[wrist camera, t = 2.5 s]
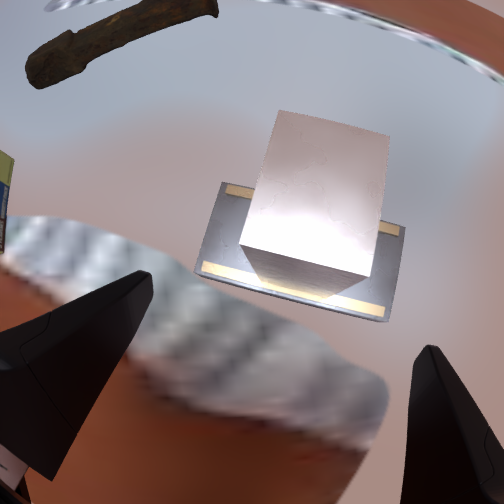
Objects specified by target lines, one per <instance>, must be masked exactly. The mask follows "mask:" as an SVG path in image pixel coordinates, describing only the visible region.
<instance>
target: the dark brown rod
mask: <svg viewBox="0 0 504 504" xmlns="http://www.w3.org/2000/svg"><path fill="white" fill-rule="evenodd" d="M218 14H219V9H218V3H217V0H142V1H141V2H140V3H138V4H136V5H133V6H131V7H129V8H126V9H124V10H121V11H119V12H117V13H115V14H113V15H111V16H109V17H107V18H105V19H103V20H100V21H98V22H96V23H94V24H92V25H90V26H87V27H86V28H84V29H81V30H79V31H78V32H77V33H73V32H72V31H71V30H67V31H65V32H63V33H62V34H60V35H59V36H58V37H56V38H54V39H52V40H50V41H48V42H47V43H45V44H43V45H42V46H40V47H39V48H38V49H37V50H36V51H34V52H33V53H32V54H30V55H29V57H28V60H27V62H26V65H25V71H26V74H27V79H28V81H29V83H30V84H31V85H32V86H33V87H35V88H36V89H44V88H46V87H49V86H51V85H54V84H57V83H59V82H60V81H63V80H65V79H67V78H69V77H71V76H74V75H76V74H79V73H81V72H83V70H84V69H86V66H87V64H88V63H89V62H91V61H92V60H94V59H95V58H97V57H100V56H101V55H103V54H105V53H108V52H110V51H112V50H114V49H116V48H119V47H122V46H124V45H125V44H127V43H128V42H131V41H133V40H136V39H138V38H141V37H144V36H146V35H148V34H151V33H154V32H156V31H159V30H162V29H164V28H167V27H170V26H173V25H176V24H180V23H183V22H186V21H190V20H192V19H194V18H197V17H200V16H204V15H211V16H213V17H214V18H217V17H218Z"/></svg>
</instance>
